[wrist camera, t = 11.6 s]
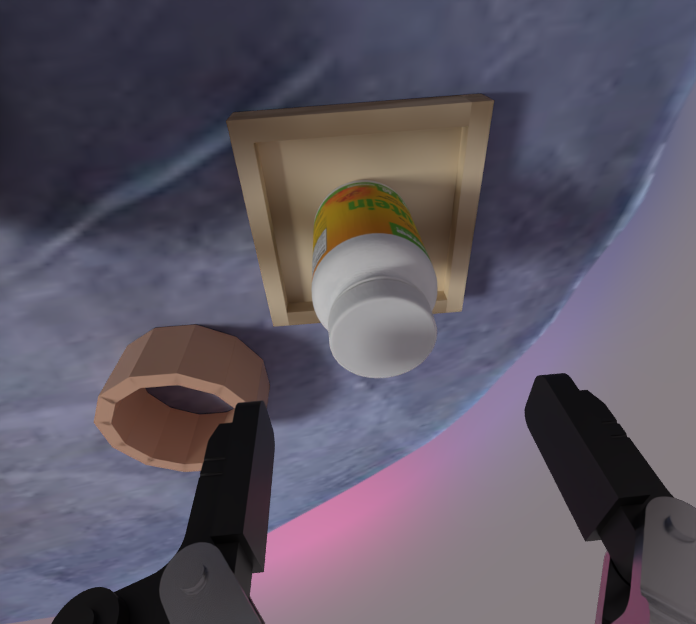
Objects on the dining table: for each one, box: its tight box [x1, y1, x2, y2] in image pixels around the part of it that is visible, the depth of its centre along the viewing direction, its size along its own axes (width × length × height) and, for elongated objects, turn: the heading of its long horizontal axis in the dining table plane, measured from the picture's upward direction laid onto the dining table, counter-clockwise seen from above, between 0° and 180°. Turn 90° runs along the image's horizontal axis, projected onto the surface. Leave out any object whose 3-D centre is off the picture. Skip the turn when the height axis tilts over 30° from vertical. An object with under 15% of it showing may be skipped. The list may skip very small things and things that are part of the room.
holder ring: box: [94, 325, 270, 472], centre depth 28 cm, size 10×10×4 cm
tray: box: [226, 94, 494, 327], centre depth 22 cm, size 12×12×2 cm
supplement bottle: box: [312, 180, 437, 378], centre depth 18 cm, size 5×5×10 cm
